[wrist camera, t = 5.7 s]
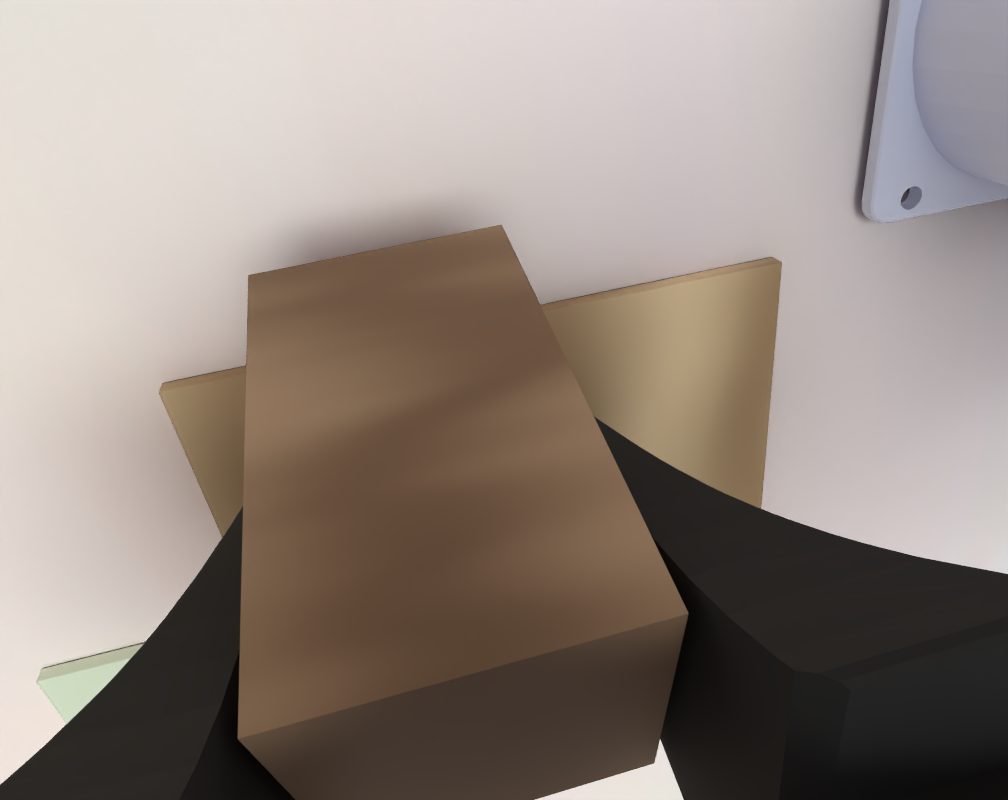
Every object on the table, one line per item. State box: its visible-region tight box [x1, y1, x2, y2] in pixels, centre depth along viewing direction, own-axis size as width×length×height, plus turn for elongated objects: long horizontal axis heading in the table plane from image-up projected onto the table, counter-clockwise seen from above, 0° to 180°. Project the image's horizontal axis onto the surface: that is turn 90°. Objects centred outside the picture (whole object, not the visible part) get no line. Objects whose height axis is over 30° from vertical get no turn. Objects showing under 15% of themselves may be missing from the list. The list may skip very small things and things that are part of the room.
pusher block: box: [238, 225, 689, 800], centre depth 10 cm, size 4×4×7 cm
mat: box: [159, 257, 782, 537], centre depth 19 cm, size 14×14×1 cm
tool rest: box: [36, 643, 144, 724], centre depth 19 cm, size 5×5×1 cm
